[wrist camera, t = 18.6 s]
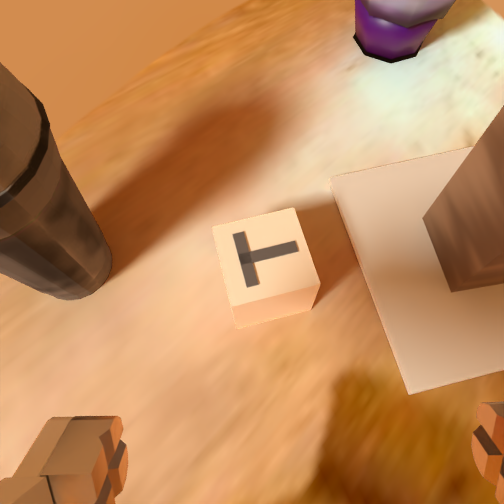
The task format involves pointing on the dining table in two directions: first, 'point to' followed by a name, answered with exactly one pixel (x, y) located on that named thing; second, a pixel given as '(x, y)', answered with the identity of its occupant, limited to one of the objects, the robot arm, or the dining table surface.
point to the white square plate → (418, 274)
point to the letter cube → (266, 267)
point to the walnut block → (472, 216)
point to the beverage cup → (43, 205)
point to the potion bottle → (395, 26)
